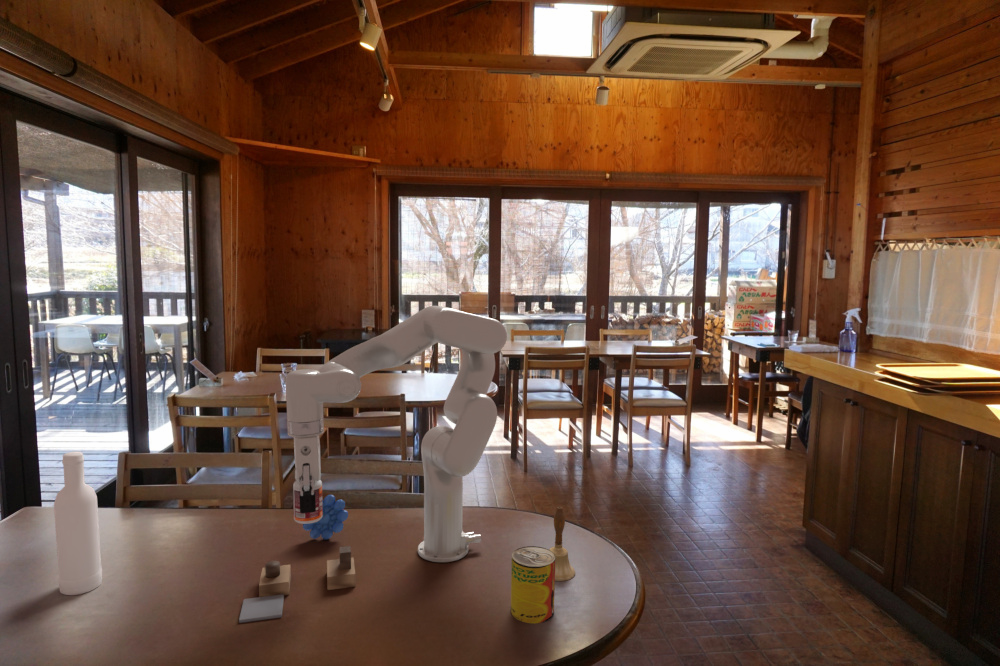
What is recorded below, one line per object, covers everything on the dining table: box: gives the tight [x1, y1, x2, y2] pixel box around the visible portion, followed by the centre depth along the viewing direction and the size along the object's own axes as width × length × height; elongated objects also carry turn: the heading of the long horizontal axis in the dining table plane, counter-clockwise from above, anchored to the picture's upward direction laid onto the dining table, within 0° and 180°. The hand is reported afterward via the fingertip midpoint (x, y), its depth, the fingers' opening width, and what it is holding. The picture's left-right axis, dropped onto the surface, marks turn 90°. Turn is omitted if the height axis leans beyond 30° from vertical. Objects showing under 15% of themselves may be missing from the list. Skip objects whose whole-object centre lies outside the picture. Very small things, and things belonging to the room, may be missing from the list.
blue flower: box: [302, 494, 349, 541], centre depth 161 cm, size 12×7×12 cm, turn 94°
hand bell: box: [548, 506, 576, 582], centre depth 145 cm, size 8×8×16 cm
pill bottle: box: [292, 466, 323, 525], centre depth 137 cm, size 6×6×11 cm
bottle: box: [53, 451, 103, 596], centre depth 134 cm, size 8×8×30 cm
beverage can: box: [510, 545, 556, 624], centre depth 128 cm, size 9×9×12 cm
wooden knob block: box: [258, 545, 356, 597], centre depth 138 cm, size 20×8×7 cm, turn 106°
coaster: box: [238, 594, 285, 624], centre depth 128 cm, size 8×8×1 cm
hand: (308, 505), depth 137 cm, fingers closed on pill bottle, 6 cm apart
